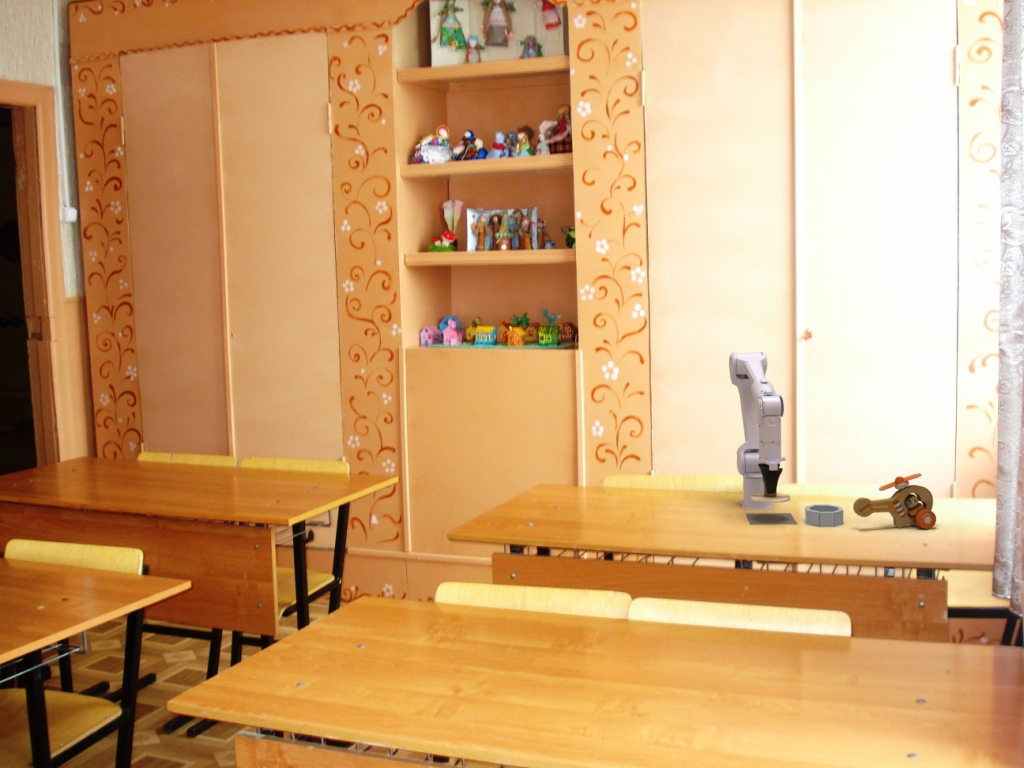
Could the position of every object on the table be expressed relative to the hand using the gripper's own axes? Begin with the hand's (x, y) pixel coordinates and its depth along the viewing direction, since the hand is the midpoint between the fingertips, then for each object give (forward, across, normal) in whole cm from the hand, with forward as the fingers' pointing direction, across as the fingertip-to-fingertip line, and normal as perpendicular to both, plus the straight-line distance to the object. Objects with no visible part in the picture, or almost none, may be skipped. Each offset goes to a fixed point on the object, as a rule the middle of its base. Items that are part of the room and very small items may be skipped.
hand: (770, 491), depth 262 cm
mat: (+8, 0, 0) cm, 8 cm away
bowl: (+8, -4, -13) cm, 16 cm away
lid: (+2, 0, 0) cm, 2 cm away
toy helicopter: (+8, -8, -30) cm, 32 cm away
